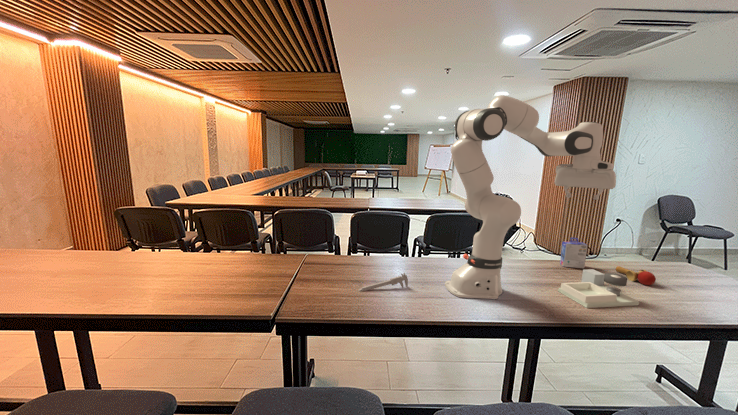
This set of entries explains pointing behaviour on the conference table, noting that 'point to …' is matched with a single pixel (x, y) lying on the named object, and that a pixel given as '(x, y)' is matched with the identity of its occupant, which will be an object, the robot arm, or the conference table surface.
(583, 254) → the ink cartridge box
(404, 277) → the caliper
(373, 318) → the conference table surface
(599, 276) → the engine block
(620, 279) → the wheel
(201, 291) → the conference table surface
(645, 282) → the kendama
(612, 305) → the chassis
